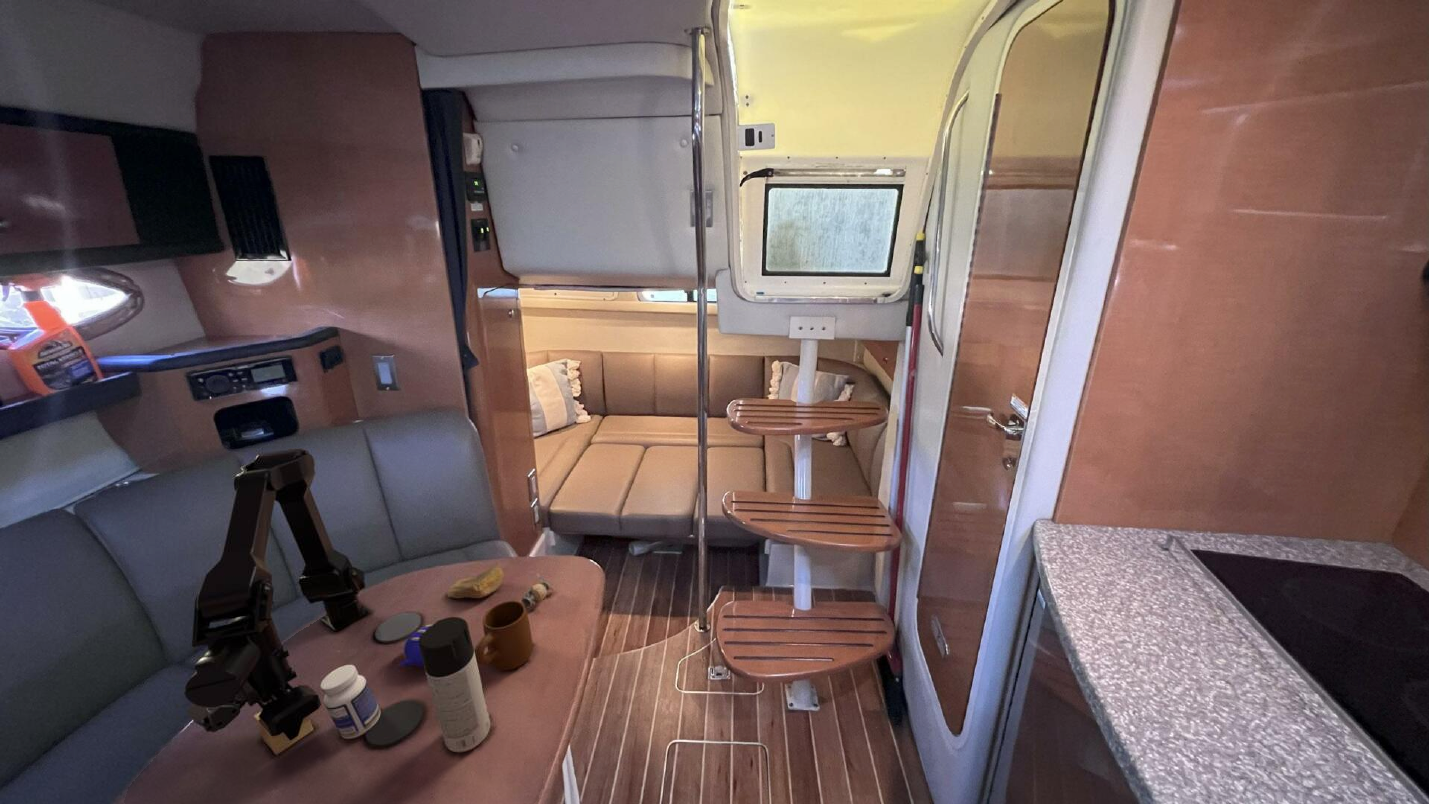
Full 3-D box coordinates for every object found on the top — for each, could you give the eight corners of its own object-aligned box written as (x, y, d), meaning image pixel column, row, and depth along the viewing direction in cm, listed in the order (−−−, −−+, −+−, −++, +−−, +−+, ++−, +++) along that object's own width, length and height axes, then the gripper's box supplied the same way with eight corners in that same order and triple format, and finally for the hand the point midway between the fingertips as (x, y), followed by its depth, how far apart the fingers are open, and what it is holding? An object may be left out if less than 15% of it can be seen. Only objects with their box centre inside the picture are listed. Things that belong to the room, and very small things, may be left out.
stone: (470, 589, 109) (440, 589, 114) (480, 608, 111) (450, 607, 115) (502, 562, 117) (472, 562, 121) (511, 580, 118) (481, 580, 123)
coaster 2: (356, 731, 84) (356, 729, 84) (407, 695, 90) (406, 693, 90) (382, 756, 80) (381, 754, 80) (433, 716, 86) (432, 714, 86)
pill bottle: (377, 702, 89) (355, 655, 86) (385, 721, 85) (363, 673, 82) (337, 726, 85) (313, 679, 82) (344, 747, 81) (319, 698, 78)
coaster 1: (367, 633, 105) (367, 631, 105) (407, 609, 111) (407, 607, 111) (388, 648, 101) (388, 646, 101) (429, 622, 107) (428, 620, 107)
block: (263, 739, 83) (253, 715, 82) (300, 716, 87) (291, 692, 86) (276, 755, 81) (266, 730, 79) (313, 730, 85) (304, 706, 83)
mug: (502, 696, 90) (493, 651, 87) (464, 687, 92) (454, 644, 89) (542, 644, 100) (534, 603, 98) (507, 637, 102) (499, 597, 99)
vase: (538, 574, 109) (516, 598, 107) (557, 591, 110) (536, 616, 108) (537, 571, 114) (516, 594, 112) (555, 588, 115) (535, 611, 113)
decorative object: (383, 638, 94) (433, 609, 103) (385, 667, 95) (435, 635, 104) (424, 657, 90) (472, 625, 99) (426, 687, 91) (474, 652, 100)
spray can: (500, 722, 85) (478, 619, 79) (469, 760, 79) (442, 653, 72) (467, 711, 87) (443, 611, 81) (434, 748, 81) (405, 642, 75)
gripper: (163, 662, 77) (200, 742, 82) (207, 721, 68) (246, 807, 72) (257, 616, 86) (285, 690, 91) (307, 662, 76) (335, 742, 81)
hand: (286, 729), depth 84 cm, fingers closed on block, 5 cm apart
